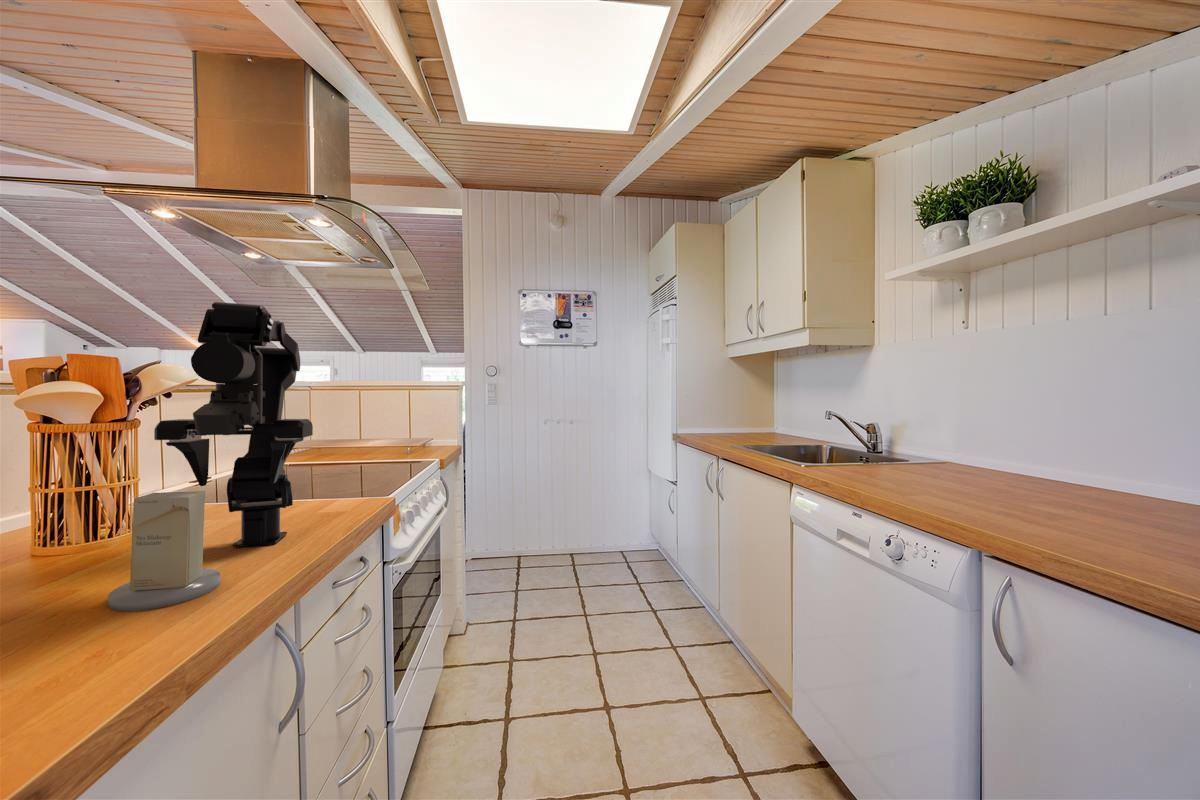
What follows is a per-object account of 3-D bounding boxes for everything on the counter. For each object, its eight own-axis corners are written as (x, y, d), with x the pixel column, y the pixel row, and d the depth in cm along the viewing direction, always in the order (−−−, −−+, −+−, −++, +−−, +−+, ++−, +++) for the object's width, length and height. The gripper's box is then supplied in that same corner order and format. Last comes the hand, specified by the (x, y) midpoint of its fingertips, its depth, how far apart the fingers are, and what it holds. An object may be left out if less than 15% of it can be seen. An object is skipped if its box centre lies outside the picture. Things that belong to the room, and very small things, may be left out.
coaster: (143, 581, 66) (143, 572, 66) (234, 573, 69) (234, 565, 69) (83, 616, 55) (83, 606, 55) (194, 605, 58) (194, 595, 58)
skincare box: (128, 592, 59) (129, 499, 59) (151, 579, 63) (151, 492, 63) (187, 587, 61) (188, 496, 61) (205, 574, 65) (206, 489, 65)
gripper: (128, 381, 60) (127, 499, 60) (290, 384, 66) (289, 491, 66) (177, 383, 71) (177, 483, 71) (314, 385, 77) (313, 478, 77)
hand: (238, 484), depth 71 cm, fingers open, 9 cm apart
